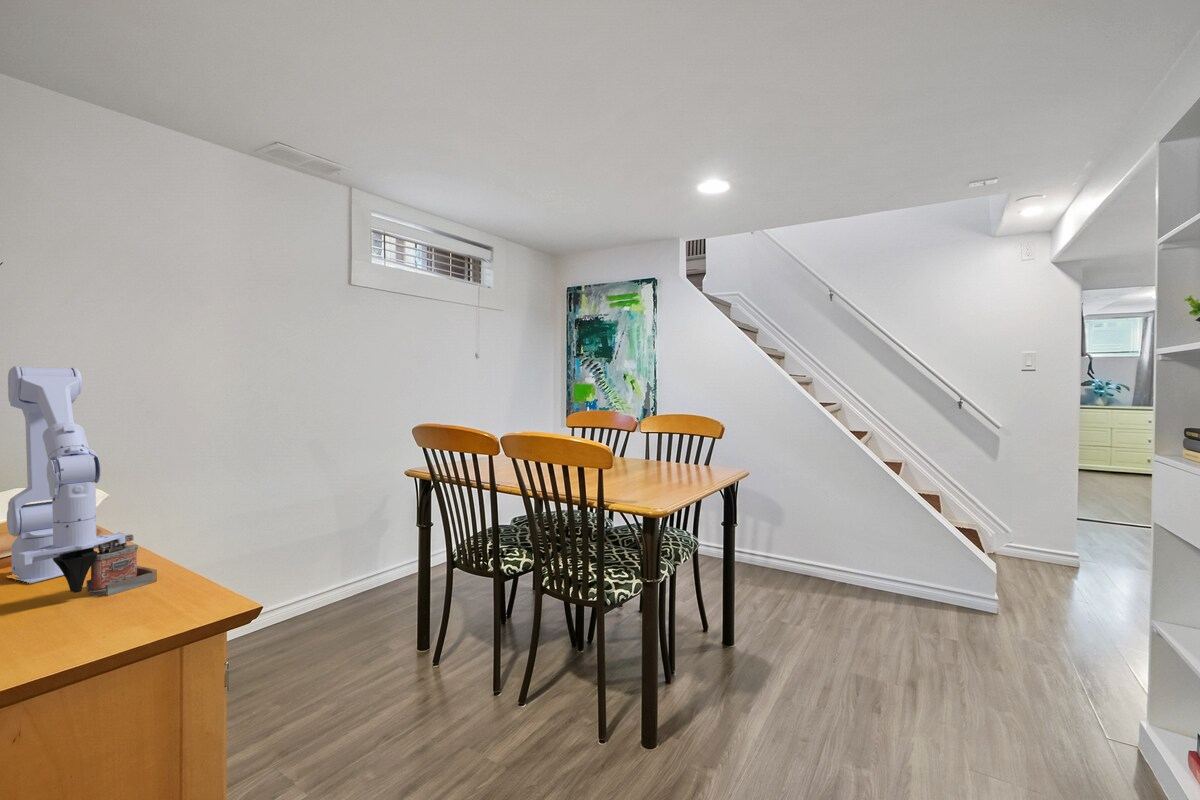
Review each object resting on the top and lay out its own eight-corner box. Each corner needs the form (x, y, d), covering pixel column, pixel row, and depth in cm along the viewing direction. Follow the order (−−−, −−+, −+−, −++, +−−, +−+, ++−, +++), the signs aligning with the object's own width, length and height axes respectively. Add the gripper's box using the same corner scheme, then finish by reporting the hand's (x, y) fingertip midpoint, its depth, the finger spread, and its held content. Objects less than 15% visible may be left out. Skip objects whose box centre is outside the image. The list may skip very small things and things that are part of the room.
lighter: (99, 596, 99) (99, 543, 99) (84, 594, 100) (84, 542, 100) (142, 581, 107) (143, 532, 107) (129, 580, 108) (129, 531, 108)
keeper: (86, 590, 102) (86, 578, 102) (135, 576, 110) (135, 565, 110) (107, 595, 100) (107, 583, 99) (156, 581, 107) (156, 569, 107)
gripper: (32, 531, 89) (34, 609, 90) (134, 512, 103) (135, 581, 103) (11, 527, 92) (12, 603, 92) (112, 509, 105) (114, 576, 106)
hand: (76, 591), depth 98 cm, fingers closed
